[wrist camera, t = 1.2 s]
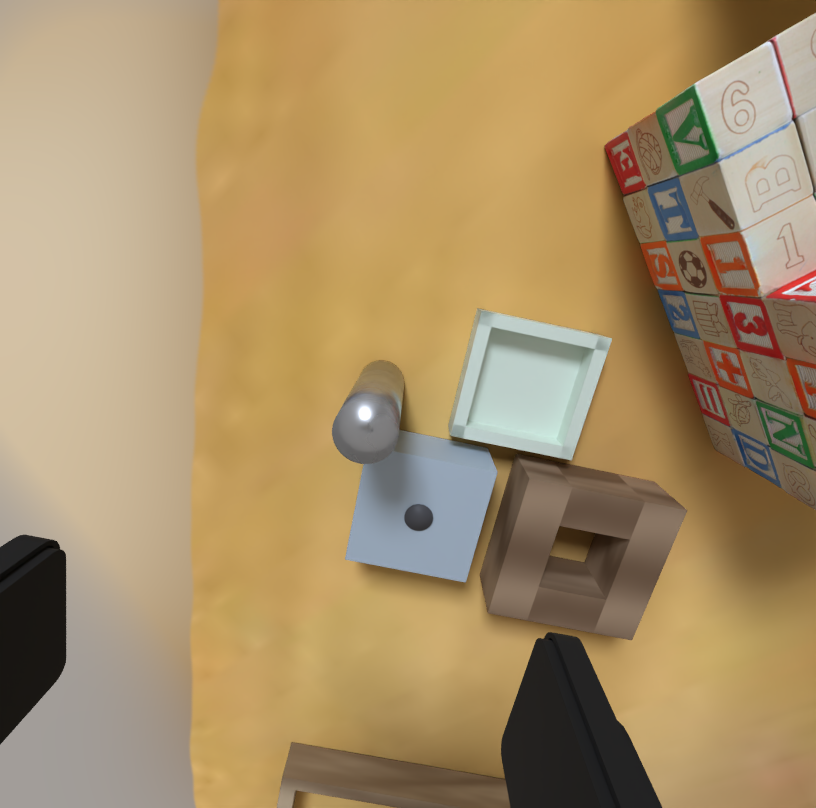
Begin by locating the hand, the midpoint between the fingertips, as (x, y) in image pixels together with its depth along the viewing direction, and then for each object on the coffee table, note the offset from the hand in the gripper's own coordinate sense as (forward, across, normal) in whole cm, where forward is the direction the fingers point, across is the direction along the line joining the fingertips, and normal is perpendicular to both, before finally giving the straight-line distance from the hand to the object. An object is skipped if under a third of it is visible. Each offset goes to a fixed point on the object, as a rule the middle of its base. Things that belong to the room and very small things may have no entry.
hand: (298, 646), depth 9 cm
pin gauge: (+22, 0, 0) cm, 22 cm away
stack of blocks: (+22, -19, -10) cm, 31 cm away
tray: (+22, -9, -2) cm, 24 cm away
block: (+22, -4, +7) cm, 23 cm away
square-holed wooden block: (+22, -15, +8) cm, 28 cm away
